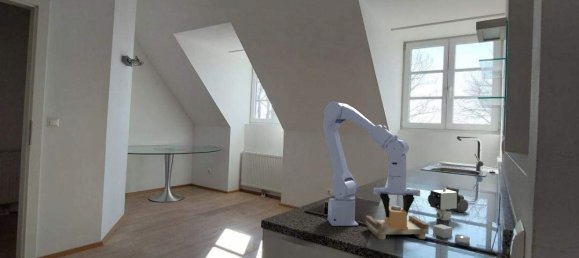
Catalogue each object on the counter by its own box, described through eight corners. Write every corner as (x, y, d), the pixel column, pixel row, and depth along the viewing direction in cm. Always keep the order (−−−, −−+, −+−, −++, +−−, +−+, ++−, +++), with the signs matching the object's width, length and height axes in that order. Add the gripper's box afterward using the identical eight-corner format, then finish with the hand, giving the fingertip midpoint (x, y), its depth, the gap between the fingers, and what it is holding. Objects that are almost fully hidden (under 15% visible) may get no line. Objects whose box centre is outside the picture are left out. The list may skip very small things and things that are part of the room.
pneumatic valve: (460, 220, 120) (461, 189, 120) (436, 222, 116) (436, 190, 116) (449, 216, 125) (449, 186, 125) (425, 218, 122) (425, 187, 122)
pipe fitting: (433, 205, 141) (437, 183, 140) (446, 206, 143) (450, 184, 143) (455, 216, 129) (460, 192, 129) (469, 216, 132) (474, 192, 131)
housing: (391, 228, 98) (391, 210, 98) (384, 219, 108) (385, 202, 108) (407, 229, 98) (408, 211, 98) (399, 220, 108) (399, 203, 108)
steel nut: (464, 246, 93) (464, 239, 92) (451, 241, 96) (452, 235, 96) (472, 244, 94) (472, 238, 94) (460, 240, 98) (460, 233, 98)
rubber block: (444, 238, 99) (444, 229, 99) (433, 234, 103) (433, 225, 103) (452, 236, 101) (452, 227, 101) (441, 233, 105) (441, 224, 105)
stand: (376, 239, 97) (376, 224, 97) (365, 228, 107) (365, 215, 107) (428, 238, 98) (428, 224, 98) (413, 228, 108) (413, 215, 108)
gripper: (415, 174, 106) (415, 214, 106) (372, 173, 107) (371, 212, 107) (422, 177, 99) (421, 220, 99) (376, 176, 100) (375, 218, 100)
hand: (396, 217), depth 103 cm, fingers closed on housing, 5 cm apart
